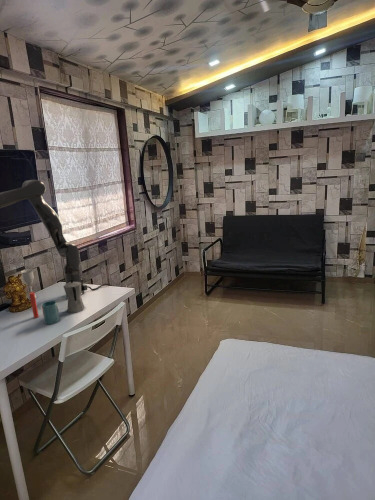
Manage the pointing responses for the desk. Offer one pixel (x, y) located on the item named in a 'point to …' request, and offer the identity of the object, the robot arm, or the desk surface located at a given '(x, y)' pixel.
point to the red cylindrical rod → (34, 305)
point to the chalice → (28, 278)
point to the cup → (50, 312)
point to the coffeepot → (74, 296)
